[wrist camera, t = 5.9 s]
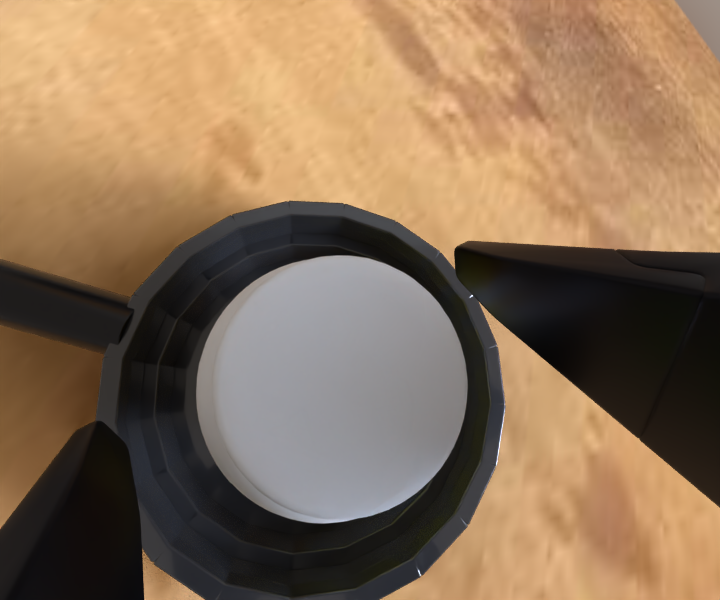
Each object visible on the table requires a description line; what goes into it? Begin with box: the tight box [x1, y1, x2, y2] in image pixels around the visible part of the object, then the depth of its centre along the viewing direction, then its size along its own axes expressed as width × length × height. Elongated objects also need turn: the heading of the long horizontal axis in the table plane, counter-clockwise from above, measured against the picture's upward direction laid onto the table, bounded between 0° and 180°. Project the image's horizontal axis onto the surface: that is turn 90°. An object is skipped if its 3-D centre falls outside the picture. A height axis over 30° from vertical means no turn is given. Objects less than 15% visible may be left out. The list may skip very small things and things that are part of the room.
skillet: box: [95, 201, 506, 600], centre depth 14 cm, size 13×13×4 cm
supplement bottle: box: [196, 255, 468, 523], centre depth 10 cm, size 6×6×10 cm
